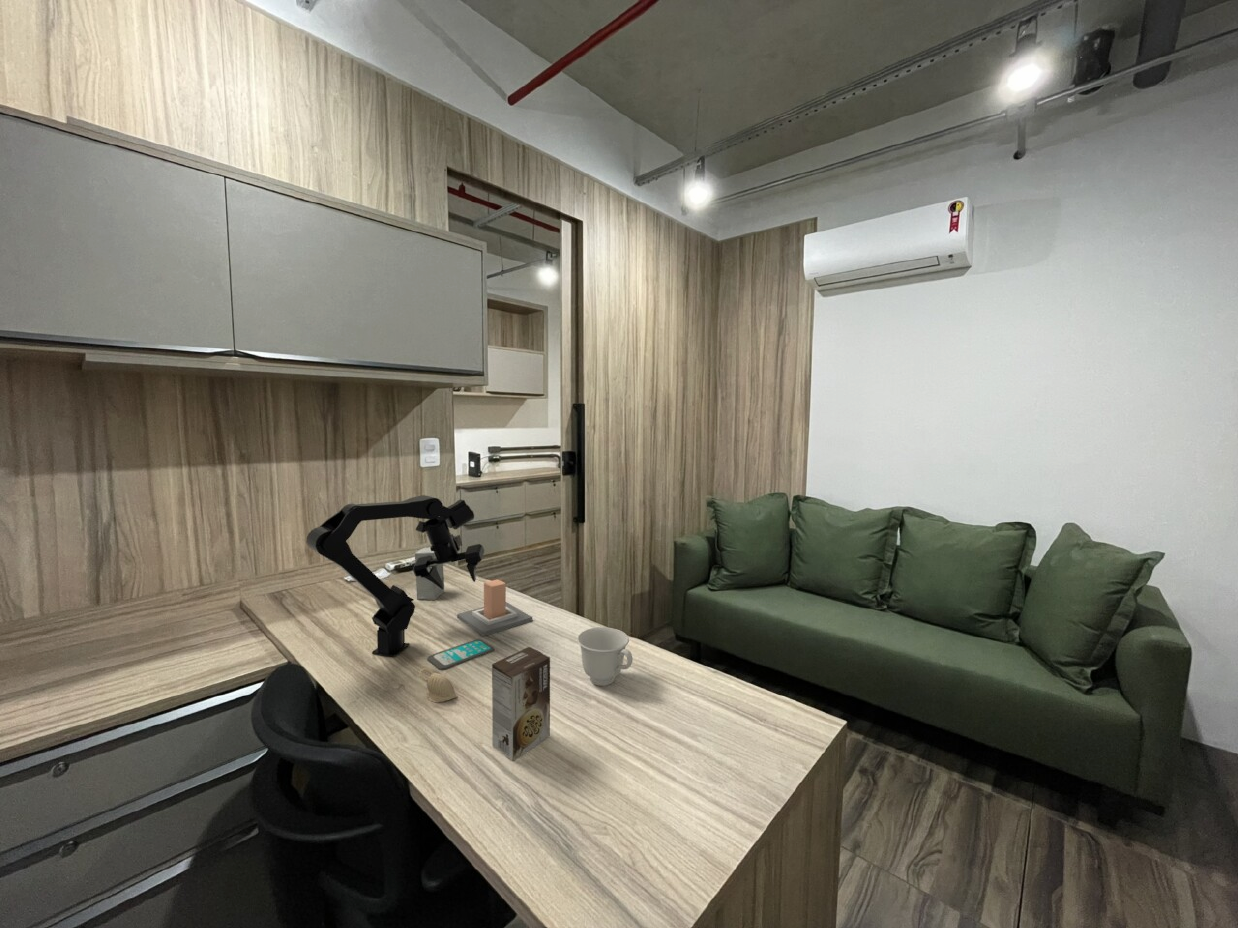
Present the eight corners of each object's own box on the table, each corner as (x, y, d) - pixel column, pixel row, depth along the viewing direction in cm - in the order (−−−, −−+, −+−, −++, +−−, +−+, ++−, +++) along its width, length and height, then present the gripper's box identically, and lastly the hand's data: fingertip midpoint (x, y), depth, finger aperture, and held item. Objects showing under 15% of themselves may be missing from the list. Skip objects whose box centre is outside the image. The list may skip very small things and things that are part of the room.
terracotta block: (505, 615, 144) (505, 583, 143) (491, 620, 141) (491, 586, 140) (497, 611, 147) (497, 579, 146) (483, 615, 144) (483, 582, 143)
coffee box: (528, 722, 96) (529, 645, 95) (550, 736, 92) (552, 656, 91) (490, 745, 89) (490, 662, 88) (512, 762, 85) (513, 675, 84)
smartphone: (424, 655, 120) (478, 637, 131) (424, 659, 120) (478, 640, 131) (441, 669, 114) (496, 648, 125) (441, 673, 115) (496, 651, 125)
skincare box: (435, 600, 157) (435, 553, 156) (413, 599, 157) (413, 552, 156) (445, 591, 166) (445, 546, 164) (424, 590, 166) (424, 545, 164)
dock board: (483, 636, 133) (483, 628, 133) (457, 617, 145) (457, 610, 144) (532, 620, 144) (532, 613, 144) (504, 604, 156) (504, 598, 155)
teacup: (610, 705, 103) (612, 661, 102) (565, 678, 113) (566, 637, 112) (647, 684, 111) (649, 642, 110) (602, 660, 122) (603, 622, 121)
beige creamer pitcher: (443, 706, 101) (443, 682, 100) (416, 694, 105) (416, 671, 105) (458, 697, 105) (458, 673, 104) (432, 685, 109) (431, 663, 108)
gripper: (479, 516, 140) (495, 561, 145) (415, 531, 139) (434, 575, 145) (471, 535, 129) (489, 583, 135) (403, 551, 129) (424, 598, 135)
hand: (459, 584), depth 138 cm, fingers open, 9 cm apart
